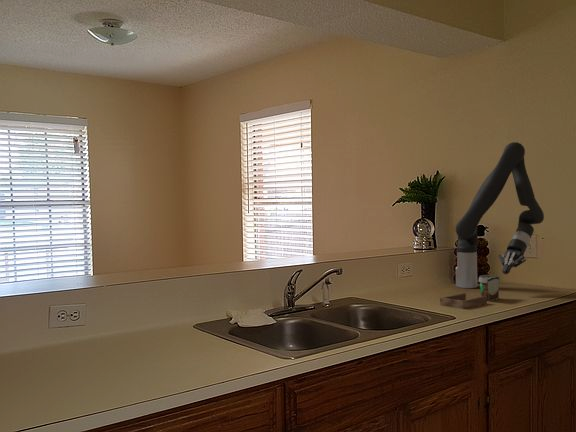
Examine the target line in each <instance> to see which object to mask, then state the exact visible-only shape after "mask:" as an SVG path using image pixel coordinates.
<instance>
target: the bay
mask: <svg viewBox="0 0 576 432" xmlns="http://www.w3.org/2000/svg"><path fill="white" fill-rule="evenodd" d="M466 296H467V295H466V293H464V292H463V293H458V294H453V295H447V296H444V297H443V296H442V297H440V298H439V305H440V306H443V307H449V308H454V309H461V310H465V309H470V308H475V307H478V305H479V306H483V305H486V304H488V303H487V296H483V297H481V296H478V297H475V298H474V297H473V298H469V299H467V297H466ZM482 304H483V305H482ZM469 307H470V308H469Z"/></svg>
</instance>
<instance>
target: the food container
mask: <svg viewBox="0 0 576 432" xmlns="http://www.w3.org/2000/svg"><path fill="white" fill-rule="evenodd" d="M500 280H501V279H500V275H499V274H483V275H479V277H478V279H477V282H478V283H479V286H480V297H483V296H487V301H490V302H493V301H496V300H498V298H499V297H500ZM495 299H496V300H495ZM499 299H500V298H499ZM492 300H493V301H492Z"/></svg>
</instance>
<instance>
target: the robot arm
mask: <svg viewBox="0 0 576 432" xmlns="http://www.w3.org/2000/svg"><path fill="white" fill-rule="evenodd" d="M525 154H526V150H525V146H523V144H522V143H521V142H520V143H519V142H516V141H515V142H513V141H512V142H510V143H508V144H506V146H505V147H504V148H503V151H502V154H501V156H500V158H499V160H498V161H497V164H496V166H495V167H493V169H492V170H491V171H490V173H489V174H487V175H488V176H486V178H485V179H484V181H483V183H482V184H481V185H480V187H479V189H478V190H477V192H476V194H475V196H474V197H473V199H472V201H471V204H470V206H469V207H468V209H467V211H466V212H465V213H464V215H463V216H462V217H461V218H460V220H458V222H457V223H456V225H455V233H456V235H457V246H456V263H457V264H456V265H457V266H456V267H455V287H457V288H460V289H461V288H462V289H476V288H478V250H477V249H478V226H479V224H480V221H481V220H482V218H483V216H484V215H485V214H486V213H487V212H488V210H489V209H490V208H491V207H492V206H493V205H494V203H496V201H497V199H498V197H499V196H500V194H501V193H502V191H503V189H504V188H505V185H506V184H507V181H508V180H509V177H510V176H511V174H512V177H513V183H514V186H515V192H516V195H517V199H518V202H519V205H520V206H522V207H523V206H524V207H527V208H528V209H526V210H523V211H522V212H520V214H519V215H518V224H517V228H516V230H515V232H514V234H513V235H512V237H511V239H510V241H509V243H508V245H507V247H506V251H504V253H503V254H498V258H499V261H500V263H501V265H502V269H501V272H502V274H504V275H508V274H509V273H510V272H511V269H513V268H517V267H518V266H520V265H521V264H524V263H525V262H526V261H527V259H526V257H525V255H524V254H525V252H526V251H527V248H528V247H529V245H530V241H531V239H532V236H533V234H534V226H532V225H538V224H541V223H542V222H543V221H544V219H545V214H544V211H543V209H542V207H540V204H539V203H538V201H537V200H536V197H535V193H534V189H533V186H532V183H531V180H530V177H529V175H528V173H527V172H528V171H527V169H526V165H525V164H526V162H525Z"/></svg>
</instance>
